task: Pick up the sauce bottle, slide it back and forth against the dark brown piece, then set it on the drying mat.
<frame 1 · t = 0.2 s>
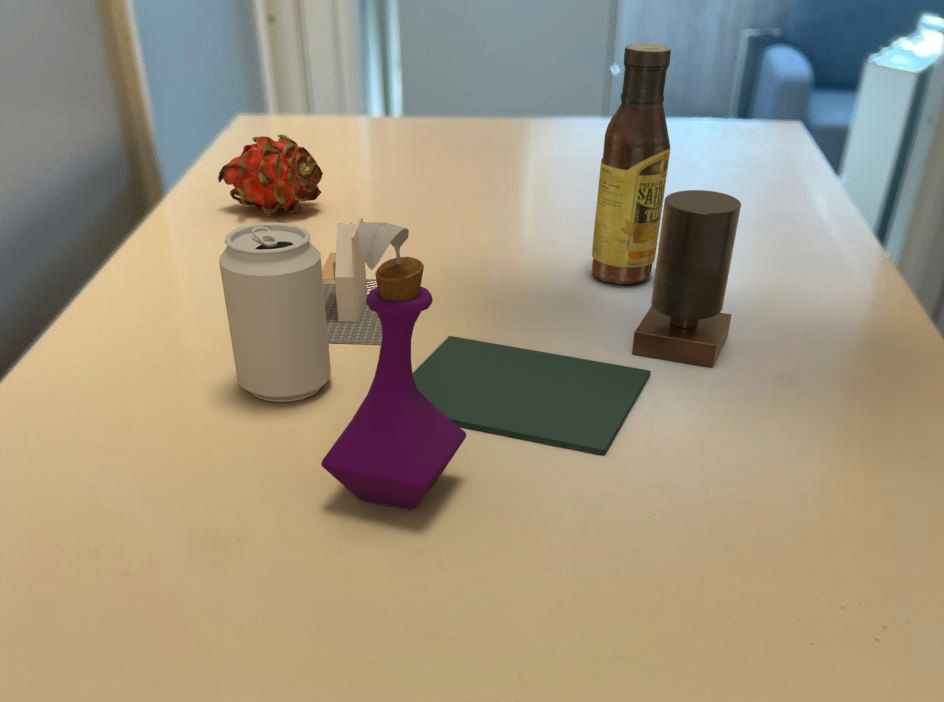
dark brown piece: (680, 344, 87), on the table
dragon fruit: (274, 212, 114), on the table
sauce bottle: (621, 277, 99), on the table
perfume bottle: (397, 492, 68), on the table
architectural model: (352, 311, 92), on the table
drying mat: (519, 392, 79), on the table
can: (286, 387, 80), on the table
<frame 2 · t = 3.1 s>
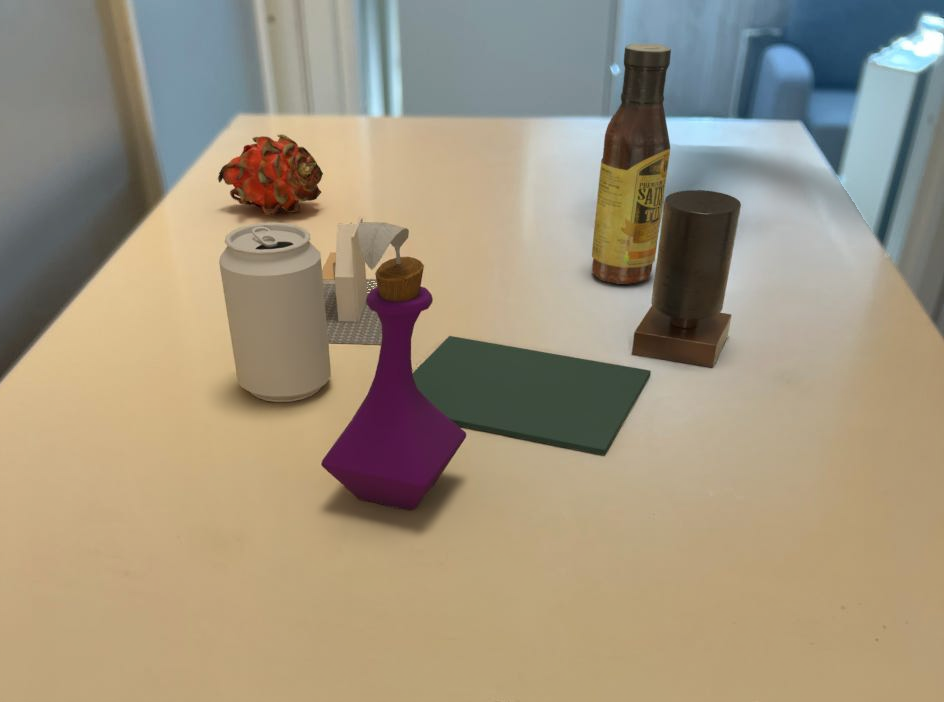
nothing on the table moved.
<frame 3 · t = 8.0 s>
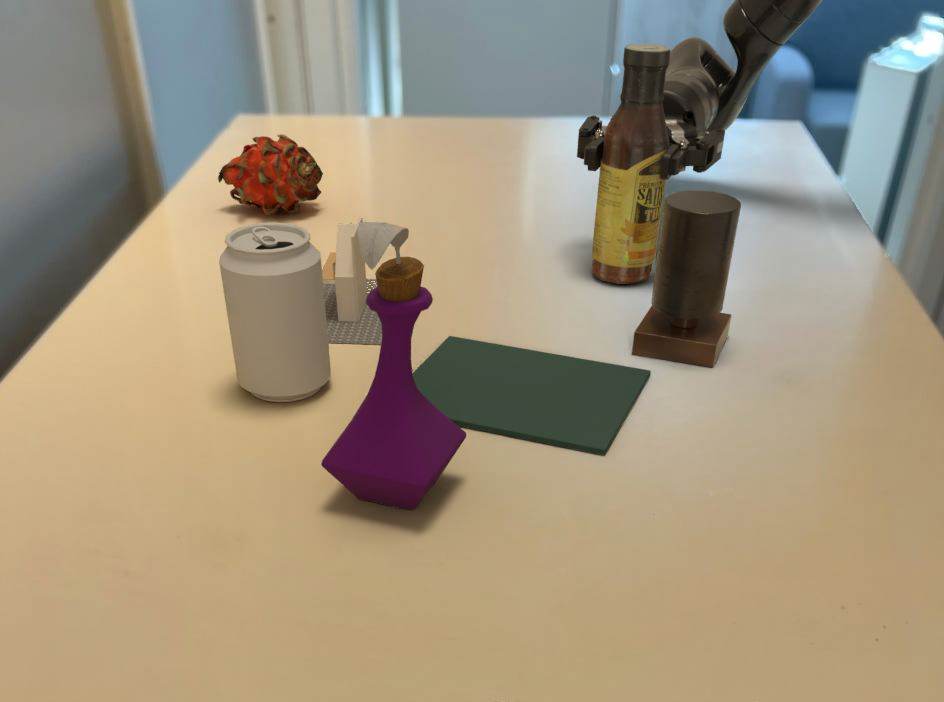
hand: (628, 163, 90), 11 cm above the table, tool horizontal, fingers closed on sauce bottle, 6 cm apart
sauce bottle: (621, 277, 99), on the table, touching gripper
everything else where it was.
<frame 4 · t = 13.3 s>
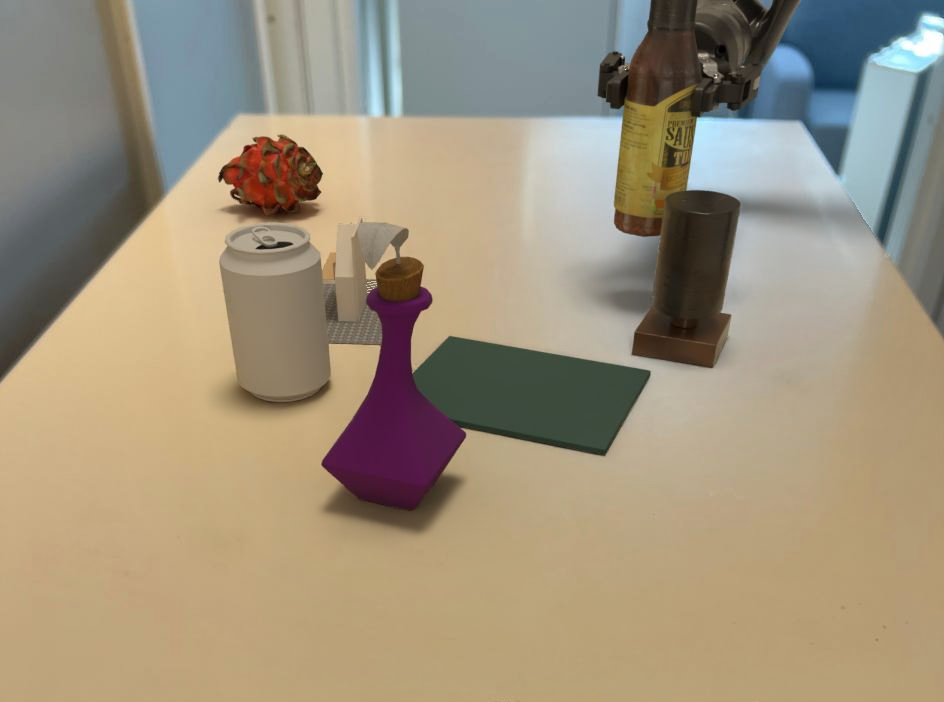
hand: (655, 99, 81), 18 cm above the table, tool horizontal, fingers closed on sauce bottle, 6 cm apart
sauce bottle: (646, 230, 90), point 6 cm above the table, touching gripper
everything else where it was.
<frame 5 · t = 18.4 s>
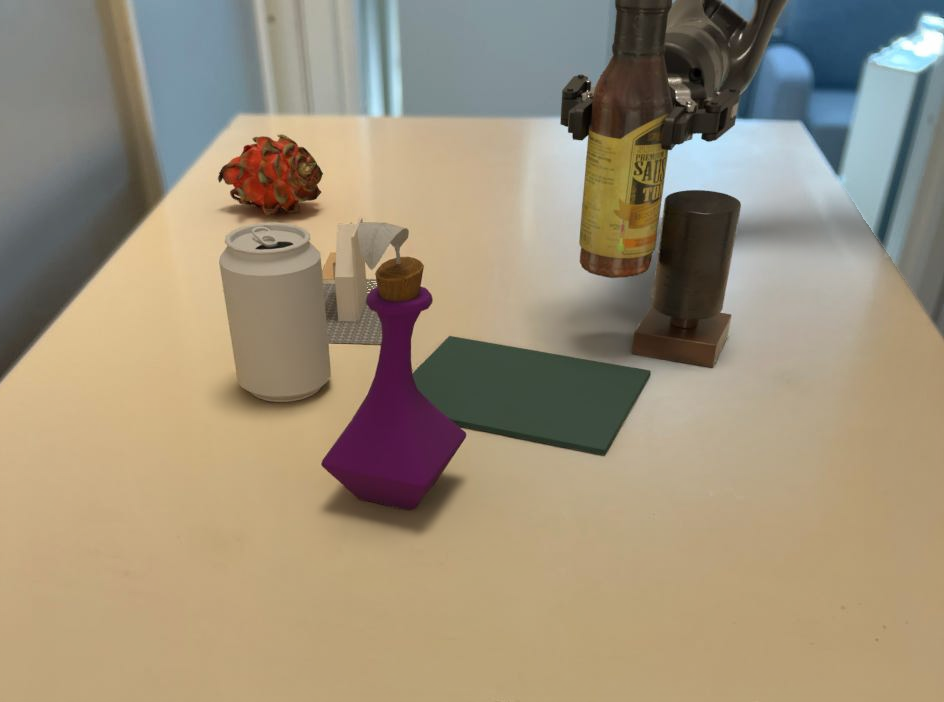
hand: (622, 130, 73), 18 cm above the table, tool horizontal, fingers closed on sauce bottle, 6 cm apart
sauce bottle: (615, 269, 83), point 6 cm above the table, touching gripper
everything else where it was.
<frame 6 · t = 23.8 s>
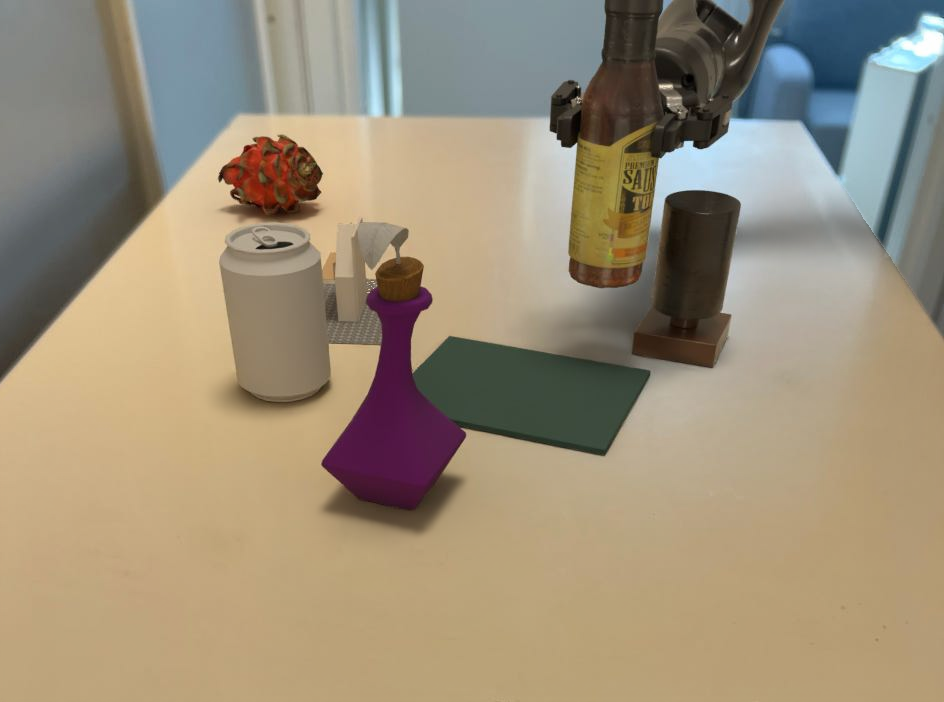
hand: (611, 137, 72), 18 cm above the table, tool horizontal, fingers closed on sauce bottle, 6 cm apart
sauce bottle: (605, 279, 81), point 6 cm above the table, touching gripper
everything else where it was.
when the fingers open (12 cm above the table, at t = 28.7 s): sauce bottle stays where it is, resting on drying mat.
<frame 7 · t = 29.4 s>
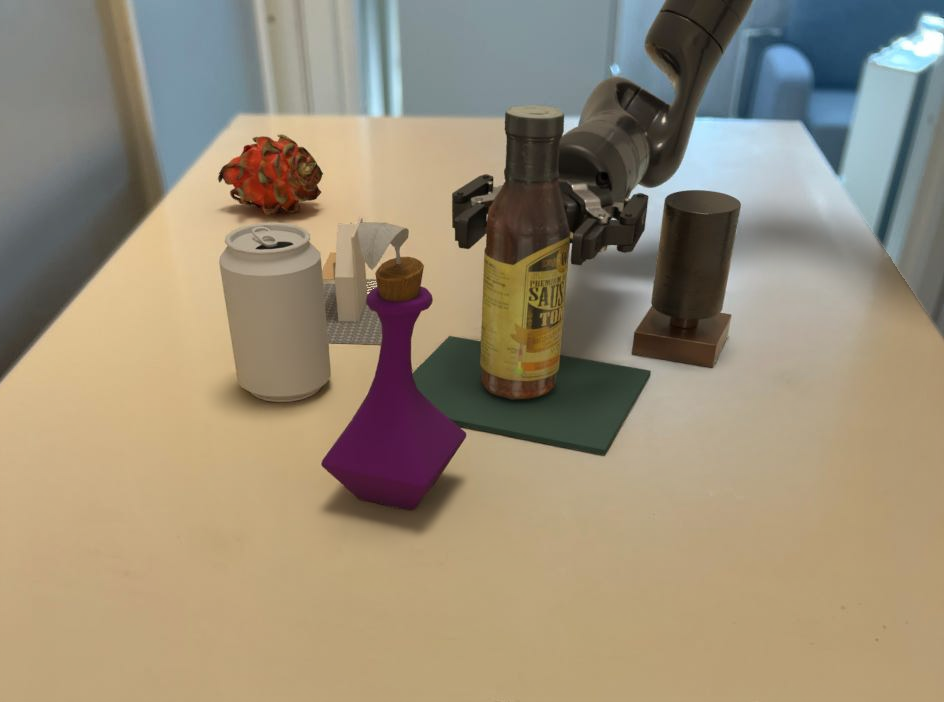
hand: (518, 242, 70), 12 cm above the table, tool horizontal, fingers open, 8 cm apart
sauce bottle: (519, 387, 79), resting on drying mat
everything else where it was.
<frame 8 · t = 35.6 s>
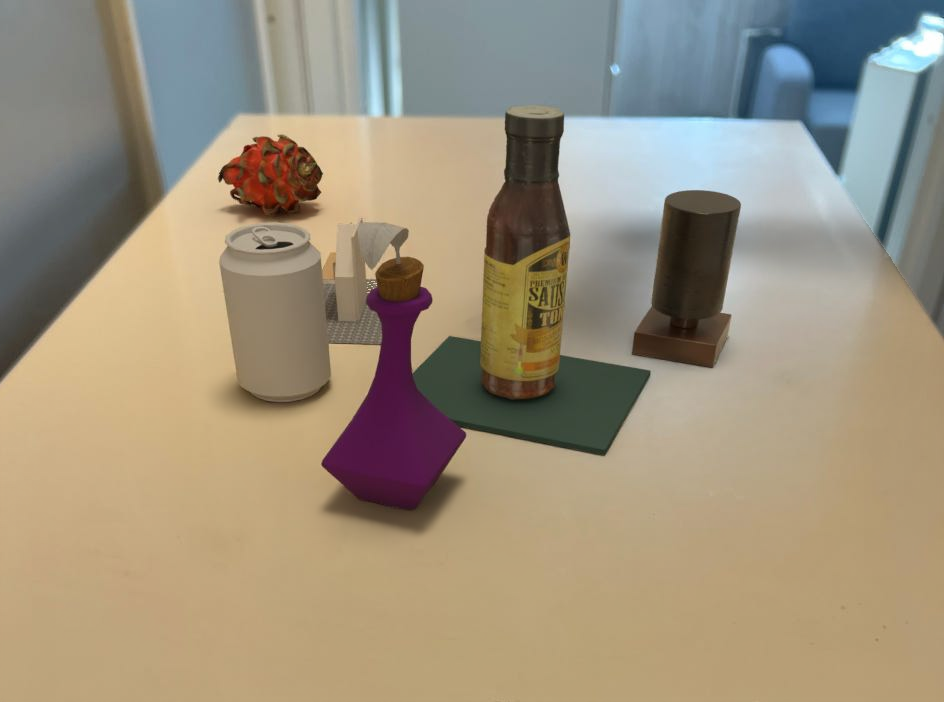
nothing on the table moved.
at the end: sauce bottle inside the target area on the drying mat (0.3 cm from its centre), point 0.3 cm above the drying mat's base; sauce bottle tilted 0°; the gripper is holding nothing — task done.
